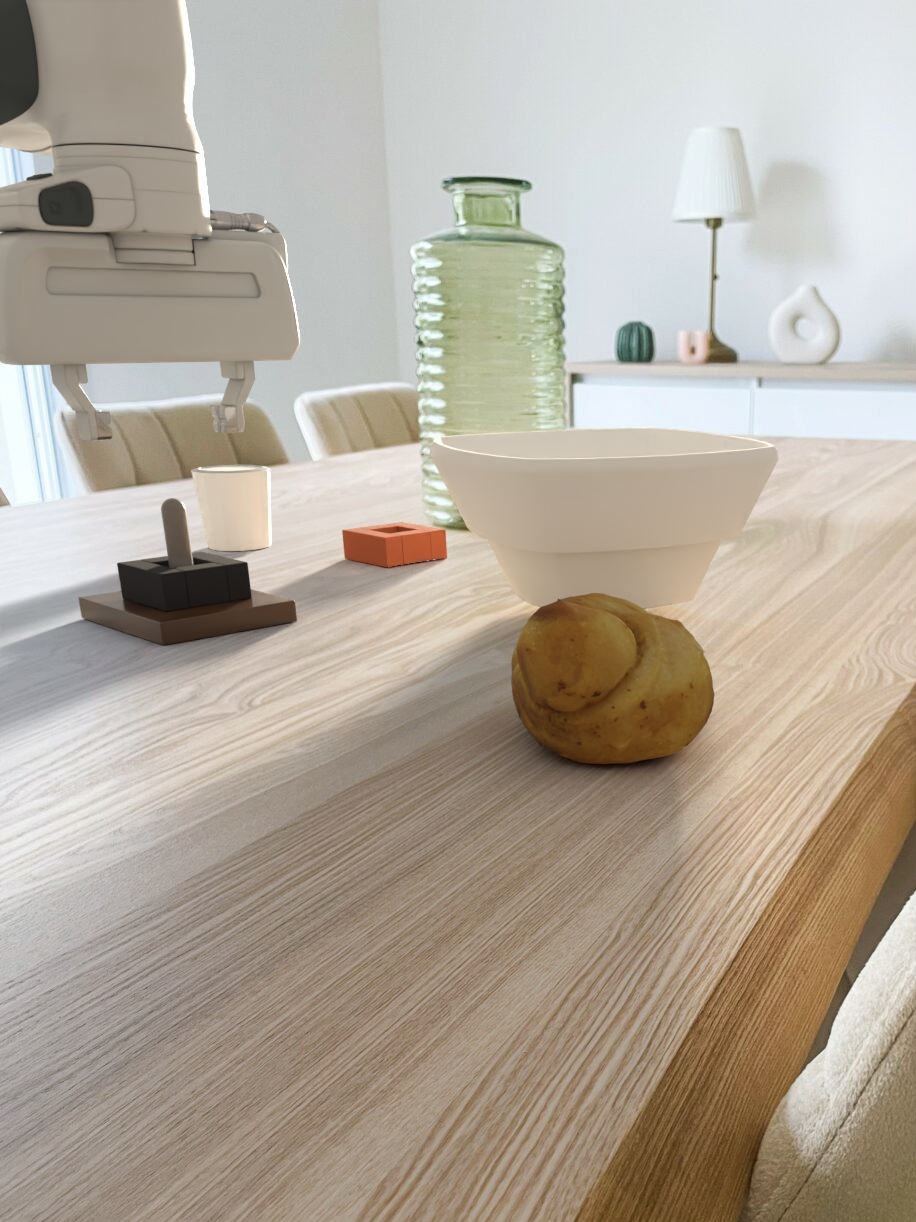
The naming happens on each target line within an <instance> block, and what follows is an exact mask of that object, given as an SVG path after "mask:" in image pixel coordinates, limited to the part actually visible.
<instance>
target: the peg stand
mask: <svg viewBox="0 0 916 1222" xmlns="http://www.w3.org/2000/svg"><path fill="white" fill-rule="evenodd" d="M160 511H161V513H160V514H161V519H162V526H163V527H162V528H163V534H164V541H165V546H166V547H165V548H166V553H167V554H166V556H168V562H169V568H176V567H184V566H191V565H193V558H192V553H193V551H192V546H191V544H192V543H191V537H190V529H189V522H188V515H187V514H188V513H187V508H186V506H185V504H184V503H183V502H182V501H181V500H180V499H178V498H175V497H171V498H170V497H169V498H167V499H165V500H164V501H163V502H162V504H161V506H160ZM251 595H252V598H249V599H243V600H237V601H229V602H225V603H218V604H212V605H206V606H200V607H194V608H187V609H181V610H175V611H169V612H166V611H163V610H160V609H156V608H153V607H150V606H146V605H143V604H139V603H136V602H133V601H129V600H126V599H123V598H122V592H121V590H118V591H112V592H111V591H110V592H106V593H97V594H92V595H84V596H79V597H78V605H79V611H80V615H81V619H84V620H86V621H90V622H92V623H95V624H99V625H102V626H105V627H108V628H111V629H114V630H117V631H119V632H122V633H125V634H129V635H132V636H135V637H138V638H141V639H144V640H147V641H149V642H153V643H156V644H158V645H162V646H168V645H173V644H178V643H179V644H180V643H184V642H185V643H186V642H191V641H197V640H200V639H207V638H212V637H217V636H223V635H229V634H234V633H241V632H246V631H251V630H257V629H262V628H267V627H268V628H269V627H273V626H279V625H283V624H284V625H285V624H290V623H296V622H297V621H298V617H297V616H298V615H297V607H296V601H295V600H294V599H292V598H287V597H283V596H279V595H275V594H272V593H268V592H263V591H259V590H255V589H251Z"/></svg>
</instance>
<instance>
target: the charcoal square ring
mask: <svg viewBox="0 0 916 1222" xmlns="http://www.w3.org/2000/svg"><path fill="white" fill-rule="evenodd" d="M192 558H193V565H191V566H184V567H176V568H169V562H168V555H165V556H158V557H149V558H143V559H142V558H141V559H136V560H135V559H134V560H127V561H121V562H117V563H116V565H117V573H118V579H119V585H120V591H121V592H122V598H123V599H126V600H129V601H133V602H136V603H139V604H143V605H146V606H150V607H153V608H156V609H160V610H163V611H166V612H169V611H175V610H181V609H187V608H194V607H200V606H206V605H212V604H218V603H225V602H229V601H237V600H243V599H249V598H252V595H251V587H252V586H251V579H250V571H249V570H250V569H249V563H248V562H247V561H243V560H239V559H235V558H230V557H226V556H222V555H218V554H213V553H210V552H205V551H195V552H192Z"/></svg>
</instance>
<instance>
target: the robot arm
mask: <svg viewBox="0 0 916 1222" xmlns="http://www.w3.org/2000/svg"><path fill="white" fill-rule="evenodd" d="M193 55H194V54H193V45H192V37H191V30H190V24H189V17H188V9H187V5H186V0H0V148H5V149H12V150H16V151H20V152H23V153H29V154H34V155H35V154H36V155H43V156H50V157H52V159H53V167H54V168H53V169H52V172H46V173H38V174H33V175H31V176H28V177H26V180H23V181H19V182H15V183H12V184H7V185H5V186H1V187H0V363H2V364H4V365H10V366H49V369H50V375H51V383H52V384H53V386H54V387H55V388H56V390H57V391H58V392H59V394H60V395H61V397H62V398H63V400H65V402H66V403H67V405H68V406H69V407H70V409H71V410H72V412H73V411H74V412H75V419H76V426H77V432H78V436H79V439H80V440H81V441H84V442H102V441H111V440H112V439H113V435H114V434H113V429H112V427H110V425H111V423H112V420H111V415H110V414H111V413H110V411H107V410H98V409H96V407H95V405H94V404H93V403H92V402H91V400H90V398H89V397H88V395H87V394H86V392H85V391H84V389H83V388H82V386H81V385H82V384H83V385H84V384H85V385H86V384H88V383H89V378H88V372H87V365H110V364H111V365H113V364H118V365H119V364H159V363H167V364H169V363H208V362H209V363H218V362H219V366H220V377H222V378H223V379H224V378H225V379H228V382H227V384H226V387H225V390H224V393H223V396H222V399H221V402H220V404H210V411H211V412H210V413H211V417H212V418H213V419H212V428H213V430H214V431H215V433H220V434H237V433H238V434H239V433H244V432H245V428H246V427H245V416H244V407H243V406H245V404H246V402H247V399H248V398H249V395H250V393H251V391H252V388H253V386H254V383H255V381H256V374H255V373H256V372H255V363H254V362H267V361H269V362H271V361H273V362H275V361H291V360H292V359H294V356H295V355H296V354H297V351H298V349H299V348H300V344H301V337H300V329H299V321H298V316H297V311H296V310H297V309H296V303H295V299H294V296H293V289H292V286H291V282H290V278H289V274H288V270H289V264H288V263H289V262H288V251H287V243H286V240H285V238H284V235H283V234H282V233H281V232H280V231H279V229H278V228H277V227H276V226H275V225H274V224H273V223H271V222H270V221H267V220H266V218H265V216H263V215H261V214H260V213H259V214H258V213H255V212H244V213H237V212H236V213H235V212H230V211H224V210H212V209H210V202H209V194H208V185H207V176H206V165H205V156H204V149H203V145H202V142H201V139H200V136H199V134H198V131H197V128H196V125H195V120H194V116H193V91H194V86H195V77H196V75H195V74H196V73H195V65H194V63H195V62H194V56H193ZM266 229H268V230H269V231H270V232H266V231H265V230H266ZM264 231H265V232H264ZM80 384H81V385H80Z"/></svg>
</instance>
